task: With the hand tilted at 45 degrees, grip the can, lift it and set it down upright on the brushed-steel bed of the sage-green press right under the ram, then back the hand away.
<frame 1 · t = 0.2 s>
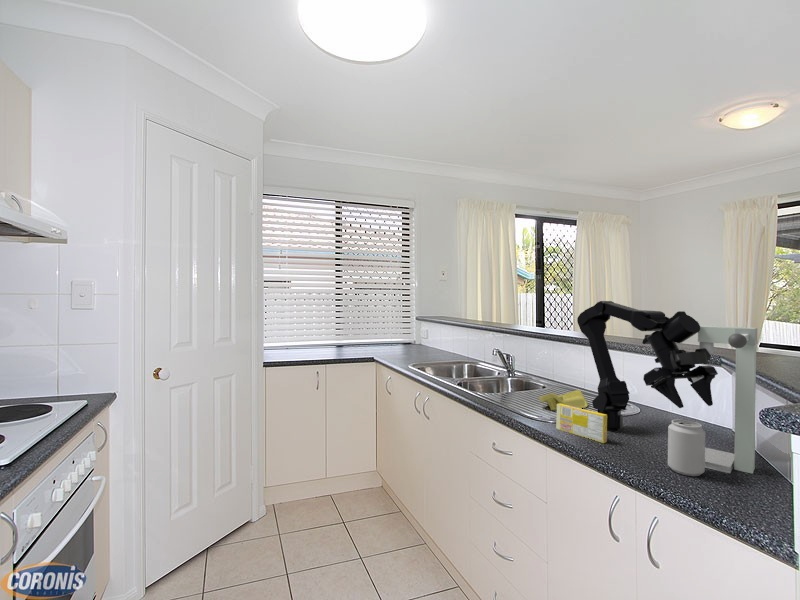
hand: (696, 406, 106), 15 cm above the worktop, tool tilted 35°, fingers open, 9 cm apart
candy box: (580, 436, 129), on the worktop
press frame: (744, 468, 104), on the worktop
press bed: (705, 459, 109), on the worktop
can: (685, 471, 102), on the worktop
plastic component: (561, 408, 161), on the worktop
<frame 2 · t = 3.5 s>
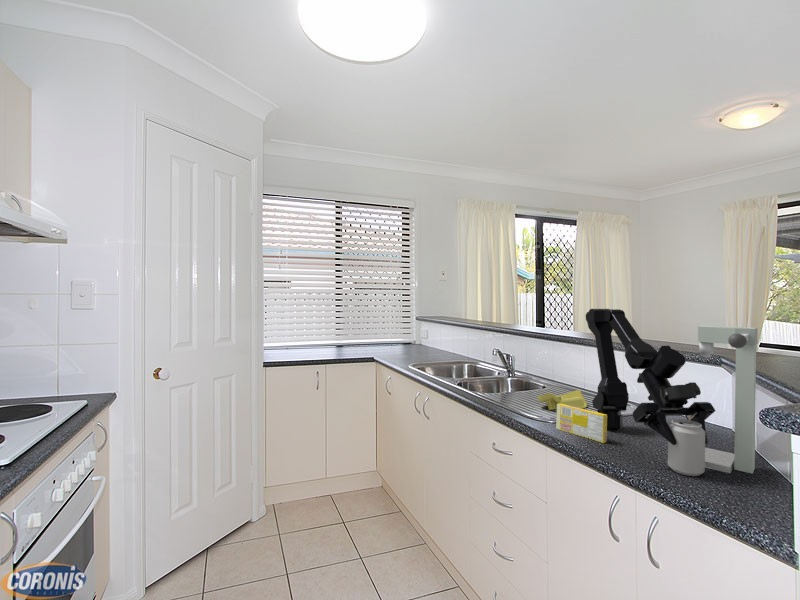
hand: (690, 443, 101), 7 cm above the worktop, tool tilted 45°, fingers closed on can, 7 cm apart
can: (685, 471, 102), on the worktop, touching gripper
everything else where it was.
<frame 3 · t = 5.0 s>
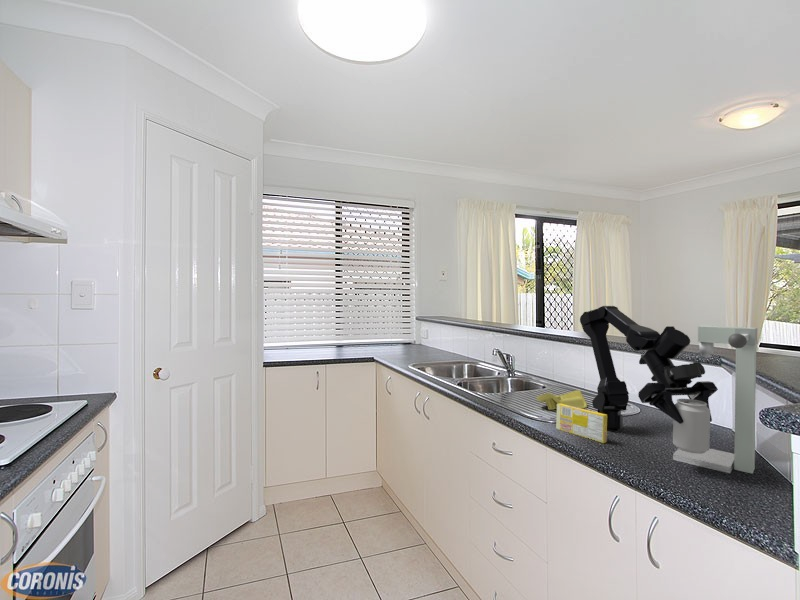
hand: (696, 422, 102), 12 cm above the worktop, tool tilted 45°, fingers closed on can, 7 cm apart
can: (690, 449, 104), point 5 cm above the worktop, touching gripper
everything else where it was.
when the fingers open (10 cm above the worktop, at t = 6.7 s): can drops 1 cm, resting on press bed.
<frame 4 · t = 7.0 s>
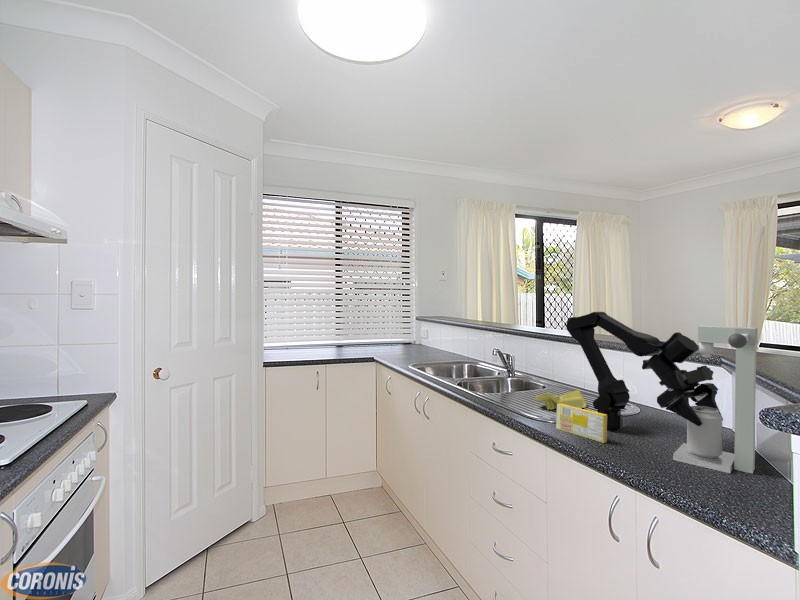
hand: (711, 423, 108), 10 cm above the worktop, tool tilted 45°, fingers open, 9 cm apart
can: (704, 454, 110), point 1 cm above the worktop, touching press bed
everything else where it was.
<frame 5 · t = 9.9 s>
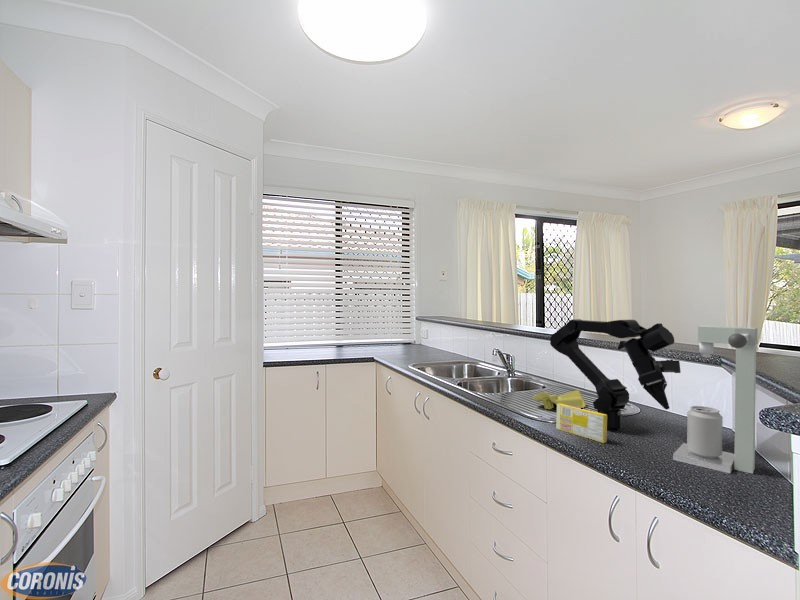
hand: (667, 408, 120), 11 cm above the worktop, tool tilted 30°, fingers open, 9 cm apart
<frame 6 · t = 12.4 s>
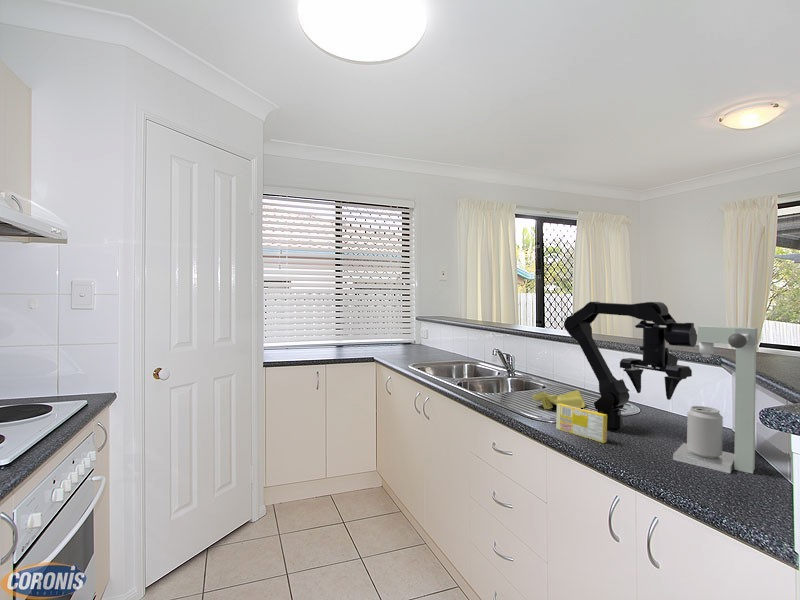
hand: (653, 396, 125), 13 cm above the worktop, tool pointing down, fingers open, 9 cm apart
at the end: can 0.2 cm off-centre on the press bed, point 1.3 cm above the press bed's base; can tilted 0°; the gripper is holding nothing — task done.
